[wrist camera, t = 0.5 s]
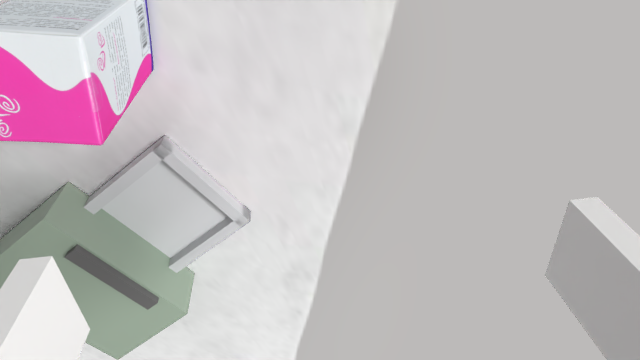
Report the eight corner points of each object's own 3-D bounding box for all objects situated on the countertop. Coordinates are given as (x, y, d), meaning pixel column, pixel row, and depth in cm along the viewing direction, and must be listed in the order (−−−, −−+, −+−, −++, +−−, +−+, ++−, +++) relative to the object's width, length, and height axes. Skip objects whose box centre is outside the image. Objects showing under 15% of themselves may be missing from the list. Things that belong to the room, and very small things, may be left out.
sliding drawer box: (1, 238, 39) (-35, 286, 34) (144, 116, 34) (125, 152, 29) (131, 316, 45) (115, 365, 41) (265, 224, 41) (265, 267, 36)
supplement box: (49, -21, 28) (-59, 22, 19) (146, -13, 29) (89, 33, 20) (68, 67, 32) (-18, 143, 22) (155, 72, 32) (109, 148, 23)
